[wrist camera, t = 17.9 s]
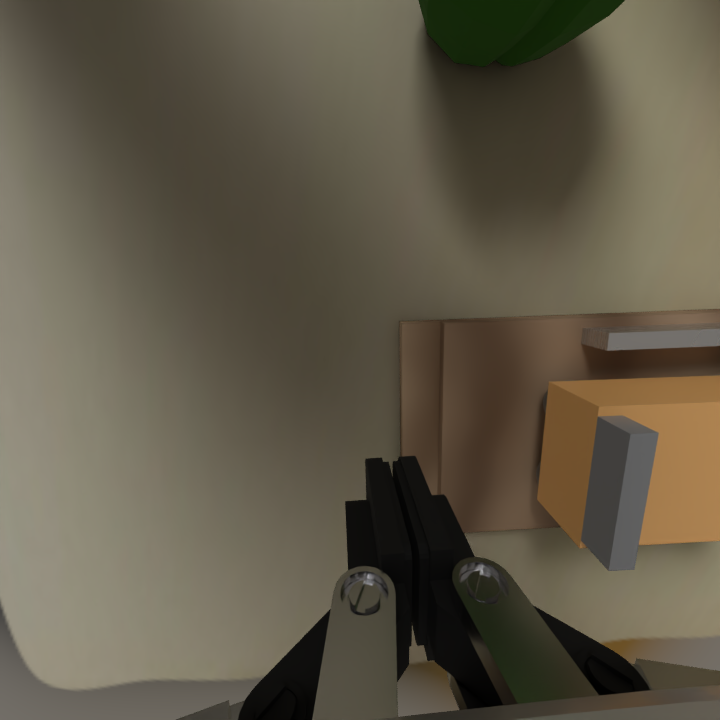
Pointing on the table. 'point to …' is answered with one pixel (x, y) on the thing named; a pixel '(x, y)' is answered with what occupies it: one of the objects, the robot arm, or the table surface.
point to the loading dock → (523, 395)
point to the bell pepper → (509, 27)
